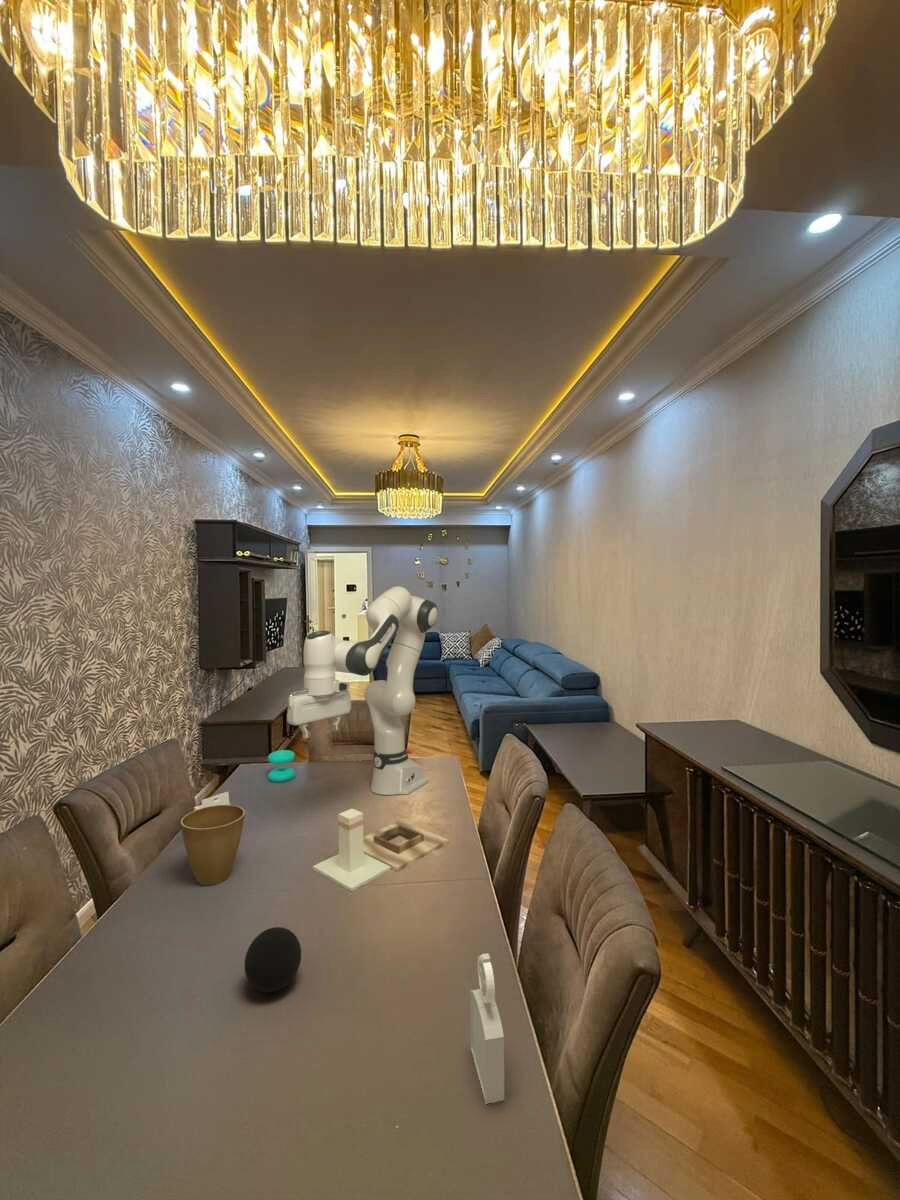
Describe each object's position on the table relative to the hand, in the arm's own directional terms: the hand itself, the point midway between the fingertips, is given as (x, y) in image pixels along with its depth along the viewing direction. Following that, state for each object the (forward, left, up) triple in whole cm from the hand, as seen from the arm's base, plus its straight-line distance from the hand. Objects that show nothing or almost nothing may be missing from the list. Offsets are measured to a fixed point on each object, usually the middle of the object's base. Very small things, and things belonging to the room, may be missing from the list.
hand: (320, 734), depth 155 cm
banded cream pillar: (+5, +20, -30) cm, 37 cm away
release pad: (+5, +20, -31) cm, 37 cm away
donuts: (-20, -54, -31) cm, 66 cm away
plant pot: (+30, -4, -31) cm, 44 cm away
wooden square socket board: (-12, +20, -31) cm, 39 cm away
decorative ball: (+40, +41, -31) cm, 65 cm away
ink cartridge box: (+22, -22, -31) cm, 44 cm away
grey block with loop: (+29, +82, -31) cm, 92 cm away
